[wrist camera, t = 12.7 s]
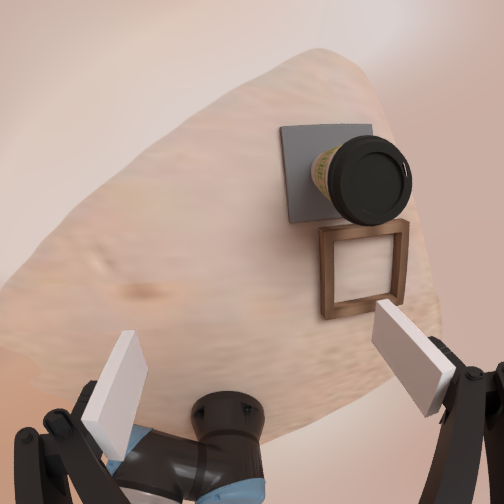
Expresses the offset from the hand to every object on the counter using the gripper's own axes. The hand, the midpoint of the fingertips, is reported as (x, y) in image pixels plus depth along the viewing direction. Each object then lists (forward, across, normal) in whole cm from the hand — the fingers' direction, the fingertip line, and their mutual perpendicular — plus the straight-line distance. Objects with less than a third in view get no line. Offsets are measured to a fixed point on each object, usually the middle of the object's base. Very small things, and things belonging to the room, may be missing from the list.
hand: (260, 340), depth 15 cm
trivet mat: (+30, +14, +6) cm, 34 cm away
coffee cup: (+29, +14, +6) cm, 33 cm away
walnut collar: (+30, +20, -10) cm, 37 cm away
